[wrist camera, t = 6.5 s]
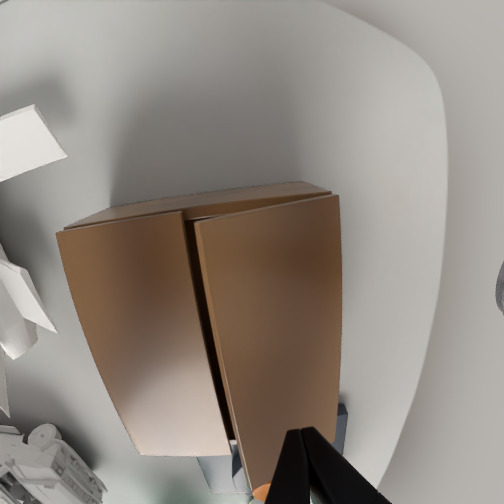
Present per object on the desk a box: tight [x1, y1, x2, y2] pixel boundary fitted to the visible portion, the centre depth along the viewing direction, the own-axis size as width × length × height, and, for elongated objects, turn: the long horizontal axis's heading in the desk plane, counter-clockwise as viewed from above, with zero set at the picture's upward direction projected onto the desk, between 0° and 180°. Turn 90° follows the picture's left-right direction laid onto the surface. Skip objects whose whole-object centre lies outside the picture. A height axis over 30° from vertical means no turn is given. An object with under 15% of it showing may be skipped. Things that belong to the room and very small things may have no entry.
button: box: [252, 480, 272, 502], centre depth 20 cm, size 4×4×2 cm
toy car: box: [0, 423, 107, 504], centre depth 18 cm, size 10×20×10 cm, turn 103°
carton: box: [56, 182, 332, 456], centre depth 16 cm, size 11×13×6 cm
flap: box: [194, 194, 342, 491], centre depth 12 cm, size 5×13×1 cm, turn 6°
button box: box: [196, 404, 348, 496], centre depth 22 cm, size 12×10×3 cm
